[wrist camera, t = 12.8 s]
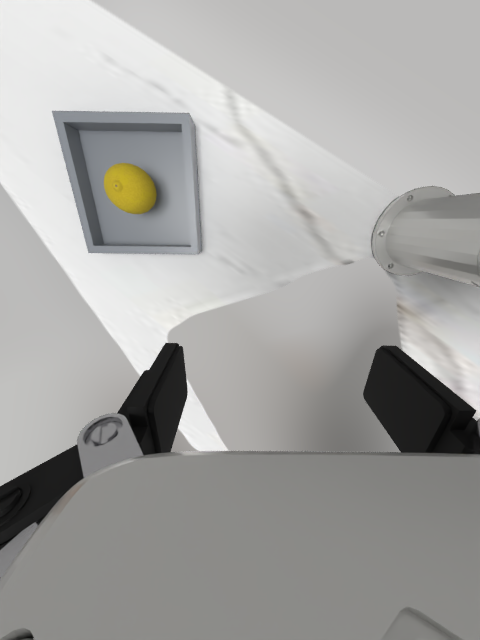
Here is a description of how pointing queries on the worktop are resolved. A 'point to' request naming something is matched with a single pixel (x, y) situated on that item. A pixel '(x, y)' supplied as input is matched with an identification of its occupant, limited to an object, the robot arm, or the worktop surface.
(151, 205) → the lemon
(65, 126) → the tray
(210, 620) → the robot arm
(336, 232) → the worktop surface
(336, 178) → the worktop surface
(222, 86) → the worktop surface
